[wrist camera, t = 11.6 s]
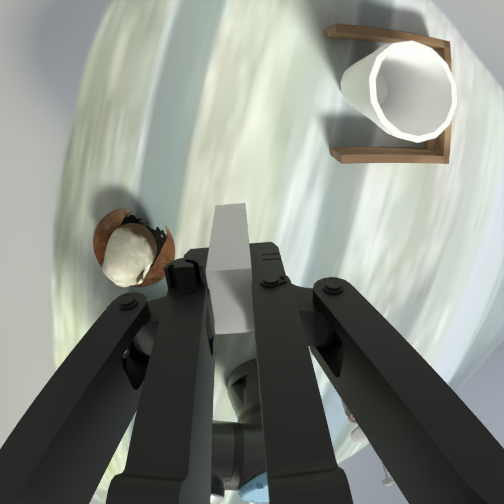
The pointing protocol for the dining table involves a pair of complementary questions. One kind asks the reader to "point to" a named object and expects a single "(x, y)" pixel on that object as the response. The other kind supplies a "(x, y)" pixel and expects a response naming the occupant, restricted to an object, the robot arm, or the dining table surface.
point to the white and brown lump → (132, 250)
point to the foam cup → (403, 90)
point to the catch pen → (433, 152)
